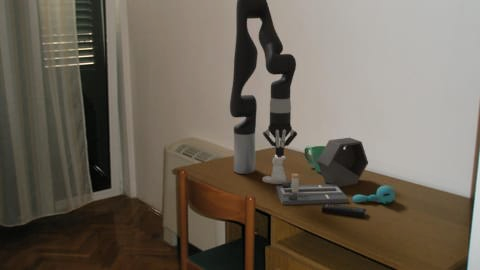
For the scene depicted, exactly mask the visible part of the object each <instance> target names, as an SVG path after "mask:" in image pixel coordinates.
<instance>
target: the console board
mask: <svg viewBox="0 0 480 270" xmlns="http://www.w3.org/2000/svg"><path fill="white" fill-rule="evenodd" d="M275 191H276V193H277V195H278V198H279V201H280V203H281V205H285V206H287V205H313V204H316V205H317V204H325V203H326V204H344V203H346V204H348V202H349V198H348V197H347V195H346V194H345V193H344V191H343V190H342V189H341V187H338V186H337V184H329V183H327V184H301V185H300V184H298V192H292V181H289V180H286V181H283V184H282V185H275Z"/></svg>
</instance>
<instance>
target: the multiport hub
mask: <svg viewBox="0 0 480 270" xmlns="http://www.w3.org/2000/svg"><path fill="white" fill-rule="evenodd" d="M321 213H322V214H329V215H336V216H344V217H351V218H356V217H357V219H365V218H366V216H367V209H366V208H363V207H362V208H361V207H355V206H348V205H339V204H335V203H323V205H322V207H321Z"/></svg>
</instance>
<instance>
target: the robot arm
mask: <svg viewBox="0 0 480 270" xmlns="http://www.w3.org/2000/svg"><path fill="white" fill-rule="evenodd" d="M235 7H236V16H235V17H236V22H235V23H236V32H235V33H236V35H235V47H234V57H233V58H234V59H233V79H232V88H231V94H230V100H229V101H230V102H229V112H230V116H231V117H232V118H244V120H242V121H241V122H240V123H239V122H238V123H236V124H235V125H234V127H233V172H235V173H237V174H242V175H247V174H252V173H255V172H256V128H257V126H256V125H257V109H258V108H257V106H258V105H257V98H256V97H255V95H253V94H244V95H243V94H242V93H243V89H244V88H245V86H246V83H247V82H248V81H249V79H250V78H251V77H252V75H253V74H254V73H255V70H256V69H257V62H258V54H259V53H258V49H257V46H256V44H255V42H254V40H253V39H252V37H251V35H250V33H249V29H248V20H249V19H252V20H253V19H259V20H260V21H261V24H260V25H261V26H260V28H259V31H258V41H259V44H260V46H261V48H262V50H263V53H264V59H265V68H266V71H267V72H268V73H269V74H271V75H282V76H281V77H280V78H279V79H277V80H274V81H273V82H272V83H270V101H269V125H268V127H267V128H268V129H266V130H265V131H263V132H262V135H263V137H264V138H265V139H266V140H267V142H269V144H270V145H271V146H272V147H275V155H276V156H277V157H283V156H285V155H284V154H285V147H288V146H289V145H291V144H292V141H294V139H296V137H297V136H298V132H297V131H296V130H294V129H293V127H292V125H291V121H292V120H291V119H292V117H291V116H292V115H291V114H292V113H291V112H292V102H291V85H292V82H293V78H294V76H295V71H296V67H297V62H296V60H297V59H296V58H295V57H294V55H293V54H291V53H283V51H284V46H283V43H282V40H281V39H280V37H279V36H278V35H279V34H278V33H277V31H276V29H275V25H274V22H273V18H272V14H271V10H270V8H269V3H268V1H267V0H236V6H235ZM270 133H271V134H270ZM288 135H289V136H288ZM271 136H272V137H273V138H274V140H273V139H272V138H271ZM286 138H287V139H286Z"/></svg>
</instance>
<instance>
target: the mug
mask: <svg viewBox="0 0 480 270" xmlns="http://www.w3.org/2000/svg"><path fill="white" fill-rule="evenodd" d="M325 147H326V145H319V146H318V145H316V146H309V145H308V146H305V148H304V156H305V158H306V160H307V161H308V164H310V165H311V166H312V167H313V168H314V169H315V172H317V173H318V174H319V173H321V170H320V167H319V165H318V162H317V161H318V159H319V157H320V155H321V154H322V152H323V150H324V148H325ZM310 153H311V155H310ZM321 174H322V173H321Z"/></svg>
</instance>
